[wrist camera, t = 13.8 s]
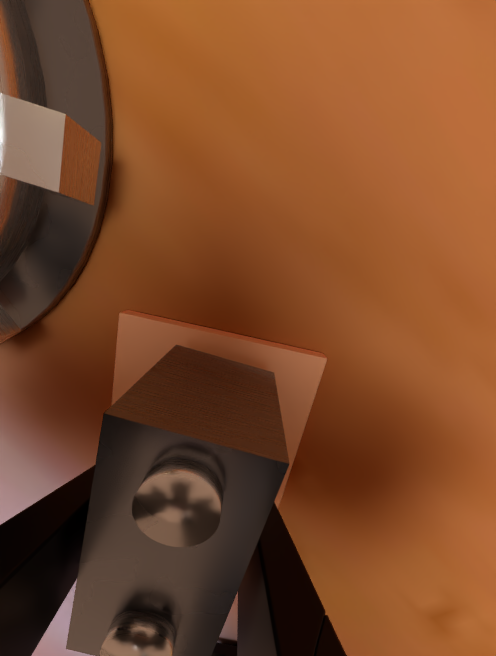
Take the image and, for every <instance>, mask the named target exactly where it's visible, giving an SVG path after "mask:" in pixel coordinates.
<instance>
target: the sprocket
mask: <svg viewBox="0 0 496 656" xmlns="http://www.w3.org/2000/svg"><path fill="white" fill-rule="evenodd" d="M100 151H101V142H100V141H99V140H97V139H96V138H95V137H94V136H92V135H91V134H90V133H89V132H87V131H86V130H85V129H84V128H82V127H81V126H80V125H79V124H77V123H76V122H75V121H74V120H72V119H71V118H70V117H69V116H67V115H66V114H64V113H61V112H58V111H55V110H52V109H48V108H47V98H46V88H45V82H44V77H43V72H42V67H41V62H40V57H39V52H38V47H37V43H36V40H35V36H34V33H33V30H32V26H31V23H30V20H29V17H28V13H27V10H26V7H25V3H24V0H0V281H1V280H2V279H3V278H4V277H5V276H6V275H7V273H8V272H9V271H10V270H11V269H12V268H13V266H14V264H15V263H16V261H17V260H18V258H19V257H20V255H21V253H22V252H23V250H24V249H25V247H26V245H27V242H28V240H29V238H30V236H31V233H32V231H33V229H34V226H35V224H36V222H37V218H38V214H39V211H40V207H41V203H42V200H43V196H44V191H48V192H52V193H55V194H58V195H61V196H64V197H68V198H71V199H74V200H77V201H80V202H84V203H87V204H90V205H93V206H94V200H95V192H96V184H97V175H98V167H99V159H100ZM20 331H21V329H20V328H19V327H18V325H17V324H16V323H15V322H14V320H13V319H12V318H11V316H10V315H9V314H8V313H7V311H6V310H5V309H4V307H3V306H2V305H1V304H0V344H1V343H2V342H4V341H5V340H7V339H9V338H10V337H12V336H14V335H15V334H17V333H19V332H20Z"/></svg>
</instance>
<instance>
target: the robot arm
mask: <svg viewBox="0 0 496 656" xmlns="http://www.w3.org/2000/svg"><path fill="white" fill-rule="evenodd" d="M94 471H95V465H94V466H93V467H91V468H90V469H88V470H87V471H85V472H83V473H82V474H80V475H79V476H77V477H75V478H74V479H72V480H71V481H69V482H68V483H66V484H64V485H63V486H61V487H60V488H58V489H56V490H55V491H53V492H52V493H50V494H49V495H47V496H45V497H44V498H42V499H41V500H39V501H37V502H36V503H34V504H33V505H31V506H30V507H28V508H26V509H25V510H23V511H22V512H20V513H18V514H17V515H15V516H14V517H12V518H11V519H9V520H7V521H6V522H4V523H3V524H1V525H0V656H31V655H32V653H33V652H34V650H35V648H36V647H37V645H38V643H39V642H40V640H41V638H42V636H43V635H44V633H45V631H46V630H47V628H48V626H49V625H50V623H51V621H52V620H53V618H54V616H55V615H56V613H57V611H58V609H59V608H60V606H61V604H62V603H63V601H64V599H65V598H66V596H67V594H68V593H69V591H70V589H71V588H72V586H73V584H74V582H75V581H76V579H77V577H78V571H79V565H80V558H81V552H82V546H83V540H84V533H85V527H86V521H87V515H88V508H89V502H90V496H91V490H92V483H93V477H94ZM211 656H347V655H346V653H345V651H344V649H343V647H342V645H341V643H340V641H339V639H338V637H337V635H336V633H335V630H334V628H333V626H332V624H331V622H330V620H329V617H328V616H327V615H325V609H324V607H323V605H322V603H321V601H320V598H319V596H318V594H317V592H316V590H315V588H314V586H313V583H312V581H311V579H310V577H309V575H308V573H307V571H306V568H305V566H304V564H303V562H302V560H301V558H300V556H299V553H298V551H297V549H296V547H295V545H294V543H293V541H292V538H291V536H290V534H289V532H288V530H287V528H286V526H285V524H284V521H283V519H282V517H281V515H280V513H279V511H278V509H277V506H276V504H275V502H274V503H273V506H272V508H271V511H270V513H269V516H268V518H267V520H266V523H265V525H264V528H263V530H262V533H261V535H260V538H259V540H258V543H257V545H256V547H255V550H254V552H253V555H252V557H251V560H250V562H249V565H248V567H247V569H246V572H245V574H244V577H243V579H242V582H241V584H240V587H239V589H238V637H237V646H232V645H227V644H222V643H216V645H215V648H214V650H213V653H212V655H211Z"/></svg>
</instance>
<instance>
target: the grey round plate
mask: <svg viewBox="0 0 496 656" xmlns="http://www.w3.org/2000/svg"><path fill="white" fill-rule="evenodd" d="M24 3H25V7H26V10H27V13H28V17H29V20H30V23H31V26H32V30H33V33H34V36H35V40H36V43H37V47H38V52H39V57H40V62H41V67H42V72H43V77H44V82H45V88H46V98H47V108H48V109H52V110H55V111H58V112H61V113H64V114H66V115H67V116H69V117H70V118H71V119H72V120H74V121H75V122H76V123H77V124H79V125H80V126H81V127H82V128H84V129H85V130H86V131H87V132H89V133H90V134H91V135H92V136H94V137H95V138H96V139H97V140H99V141H100V142H101V151H100V159H99V167H98V175H97V184H96V192H95V200H94V206H93V205H90V204H87V203H84V202H80V201H77V200H74V199H71V198H68V197H64V196H61V195H58V194H55V193H52V192H48V191H44V196H43V200H42V203H41V207H40V211H39V214H38V218H37V222H36V224H35V226H34V229H33V231H32V233H31V236H30V238H29V240H28V242H27V245H26V247H25V249H24V250H23V252H22V253H21V255H20V257H19V258H18V260H17V261H16V263H15V264H14V266H13V268H12V269H11V270H10V271H9V272H8V273H7V275H6V276H5V277H4V278H3V279H2V280H1V281H0V304H1V305H2V306H3V307H4V309H5V310H6V311H7V313H8V314H9V315H10V316H11V318H12V319H13V320H14V322H15V323H16V324H17V325H18V327H19V328H20V329H21V331H20V332H22V331H24V330H25V329H27V328H29V327H30V326H32V325H33V324H35V323H37V322H38V321H39V320H40V319H41V318H42V317H43V316H45V315H46V314H47V313H48V312H49V311H50V310H51V309H53V308H54V307H55V306H56V305H57V304H58V303H59V301H60V300H61V299H62V298H63V297H64V295H65V294H66V293H67V292H68V290H69V289H70V288H71V287H72V286H73V284H74V283H75V281H76V279H77V277H78V276H79V274H80V272H81V271H82V269H83V267H84V266H85V264H86V262H87V261H88V258H89V256H90V253H91V251H92V249H93V246H94V244H95V241H96V239H97V236H98V234H99V231H100V227H101V223H102V219H103V216H104V212H105V208H106V204H107V200H108V193H109V185H110V177H111V169H112V130H113V123H112V113H111V103H110V93H109V83H108V77H107V72H106V67H105V62H104V57H103V52H102V47H101V43H100V38H99V33H98V30H97V27H96V23H95V20H94V17H93V14H92V11H91V7H90V4H89V1H88V0H24ZM20 332H19V333H20ZM19 333H17V334H19ZM17 334H15V335H14V336H16V335H17ZM12 337H13V336H12ZM10 338H11V337H10Z"/></svg>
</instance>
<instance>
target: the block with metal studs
mask: <svg viewBox="0 0 496 656" xmlns="http://www.w3.org/2000/svg"><path fill="white" fill-rule="evenodd" d="M288 467H289V458H288V452H287V446H286V440H285V434H284V428H283V422H282V416H281V410H280V404H279V398H278V393H277V387H276V381H275V375H274V372H271V371H267V370H264V369H260V368H257V367H253V366H250V365H246V364H243V363H239V362H236V361H232V360H229V359H225V358H222V357H218V356H215V355H211V354H208V353H204V352H201V351H197V350H194V349H191V348H187V347H184V346H180V345H177V344H176V345H175V346H174V347H173V348H172V349H171V350H170V351H169V352H168V353H167V354H166V355H165V356H164V357H162V358H161V359H160V360H159V361H158V362H157V363H156V364H155V365H154V366H153V367H152V368H151V369H150V370H149V371H148V372H147V373H146V374H145V375H144V376H142V377H141V378H140V379H139V380H138V381H137V382H136V383H135V384H134V385H133V386H132V387H131V388H130V389H129V390H128V391H127V392H126V393H125V394H123V395H122V396H121V397H120V398H119V399H118V400H117V401H116V402H115V403H114V404H113V405H112V406H111V407H110V408H109V409H108V410H107V411H106V412H105V413H104V415H103V421H102V427H101V433H100V440H99V446H98V452H97V458H96V465H95V471H94V477H93V483H92V490H91V496H90V502H89V508H88V515H87V521H86V527H85V533H84V540H83V546H82V552H81V558H80V565H79V571H78V577H77V583H76V590H75V596H74V602H73V608H72V615H71V621H70V627H69V633H68V640H67V646H66V649H69V650H73V651H78V652H82V653H86V654H90V655H95V656H211V655H212V653H213V650H214V648H215V645H216V643H217V640H218V638H219V636H220V633H221V631H222V628H223V626H224V623H225V621H226V618H227V616H228V614H229V611H230V609H231V606H232V604H233V601H234V599H235V596H236V594H237V591H238V589H239V587H240V584H241V582H242V579H243V577H244V574H245V572H246V569H247V567H248V565H249V562H250V560H251V557H252V555H253V552H254V550H255V547H256V545H257V543H258V540H259V538H260V535H261V533H262V530H263V528H264V525H265V523H266V520H267V518H268V516H269V513H270V511H271V508H272V506H273V503H274V501H275V498H276V496H277V494H278V491H279V489H280V486H281V484H282V481H283V479H284V476H285V474H286V471H287V469H288Z"/></svg>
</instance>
